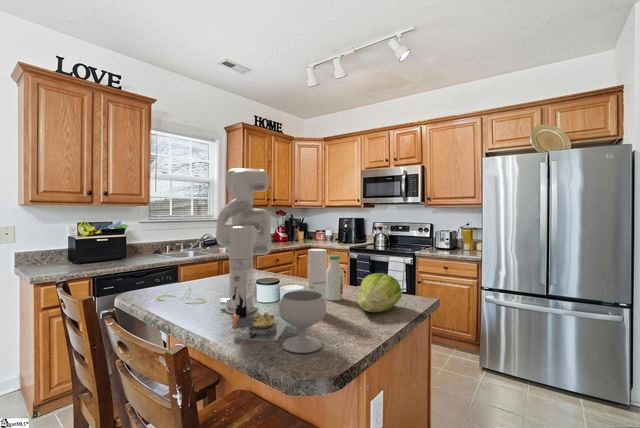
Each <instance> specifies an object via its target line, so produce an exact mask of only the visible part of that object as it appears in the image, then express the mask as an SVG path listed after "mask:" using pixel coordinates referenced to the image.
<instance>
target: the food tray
mask: <svg viewBox="0 0 640 428" xmlns="http://www.w3.org/2000/svg"><path fill="white" fill-rule="evenodd" d="M274 323H275V314H274V313H273V314H269V312H264V313H263V314H260V313H258V312H256V313H254V315H247V316H245V317H239V314H231V325H232V326H231V327H232V329H235V330H236V329H241V328H244V329H245V328H246V327H253V328H256V329H266V328H270V327H272V326H274Z"/></svg>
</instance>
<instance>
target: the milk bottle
mask: <svg viewBox="0 0 640 428" xmlns="http://www.w3.org/2000/svg"><path fill="white" fill-rule="evenodd" d="M343 278H344V277H343V270H342V267H341V266H340V255H339V254H334V255H333V254H331V255H329V264H328V267H327V268H326V301H327V300H328V301H332V302H334V301H335V302H337V301H341V300H343V298H344V297H343V293H344V292H343V291H344V290H343V285H344V283H343Z"/></svg>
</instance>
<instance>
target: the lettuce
mask: <svg viewBox="0 0 640 428" xmlns="http://www.w3.org/2000/svg"><path fill="white" fill-rule="evenodd" d="M401 298H402V288H401V284H400V282H399V281H398V280H397V279H396V278H395V277H394V276H391V275H389V274H386V273H384V272H383V273H382V272H381V273H380V272H378V273H377V272H375V273H371V274H369V275H366V276H365V277H364V278H363V279H362V281H361V283H360V287H359V292H358V296H357V303H358V306H359V307H360V308H361V309H362V310H363V311H364V312H365V311H366V312H369V313H381V312H384V311H389V310H390V309H391V308H392V307H393V306H394V305H396V304H397V303H398V302H399V301H400V300H401Z"/></svg>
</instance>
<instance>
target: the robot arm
mask: <svg viewBox="0 0 640 428" xmlns="http://www.w3.org/2000/svg"><path fill="white" fill-rule="evenodd" d="M225 184H226V187H227V191H228V194H229V197H230V201H229V202H228V203H227V204H226V205H225V206H224V207H223V208H222V209H221V211H220V212H219V214H218V215H217V219H216V232H215V233H216V234H215V239H216V242H217V244H218V245H219V246H220V247H227V250H228V256H229V257H228V259H229V285H228V286H229V287H228V289H229V295H228V297H229V298H228V297H227V298H221V299H220V300H219V303H220V305H222V306H223V305H226V306H225V313H228V314H231V315H233V314H239V317H245V316H248V315H247V314H250V313H254V312H255V311H257V309H258V305H257V304H256V303H254V282H255V281H254V280H255V279H254V276H255V275H254V269H255V268H254V256H264V255H268V254H270V252H271V250H272V227H271V226H272V225H271V224H272V223H271V217H270V212H269V211H268V210H267V209H264V208H253V206H254V192H267V190H268V188H269V184H270V183H269V175H268V173H267V171H266V170H265V169H263V168H243V167H241V168H238V167H237V168H231V169H228V170H227V171H226V173H225ZM229 219H231V224H226V222H227V221H228V220H229Z"/></svg>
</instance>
